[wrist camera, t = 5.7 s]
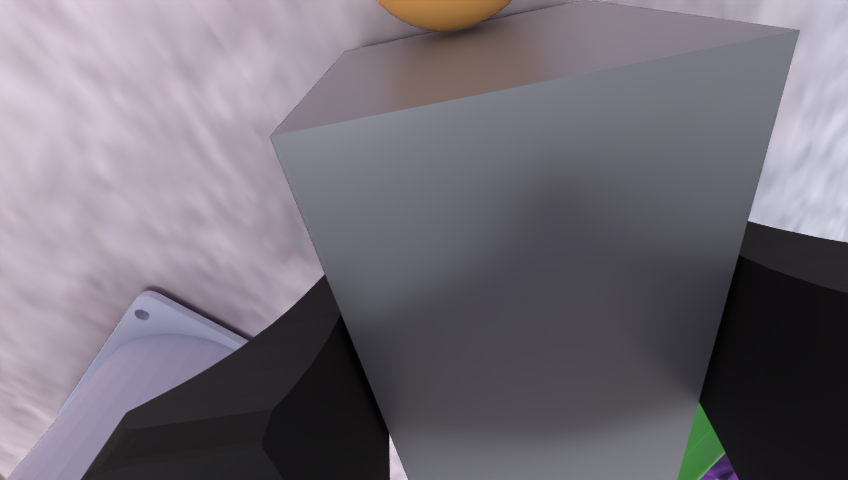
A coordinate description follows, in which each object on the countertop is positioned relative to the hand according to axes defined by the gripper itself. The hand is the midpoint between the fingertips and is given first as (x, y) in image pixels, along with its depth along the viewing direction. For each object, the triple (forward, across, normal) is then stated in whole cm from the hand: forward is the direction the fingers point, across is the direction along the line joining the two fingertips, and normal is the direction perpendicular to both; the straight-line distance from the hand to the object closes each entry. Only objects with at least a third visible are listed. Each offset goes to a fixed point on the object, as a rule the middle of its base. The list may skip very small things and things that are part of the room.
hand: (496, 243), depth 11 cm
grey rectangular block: (+2, 0, 0) cm, 2 cm away
